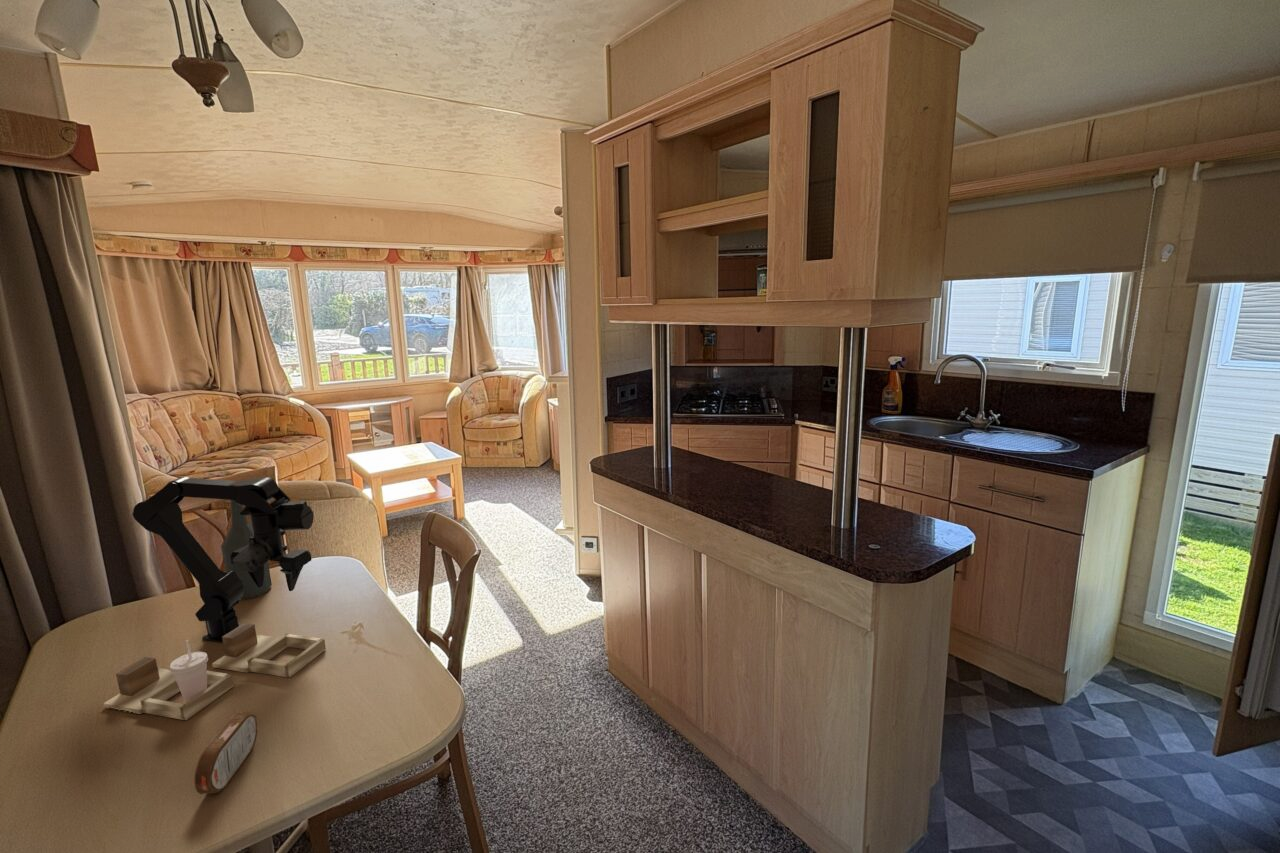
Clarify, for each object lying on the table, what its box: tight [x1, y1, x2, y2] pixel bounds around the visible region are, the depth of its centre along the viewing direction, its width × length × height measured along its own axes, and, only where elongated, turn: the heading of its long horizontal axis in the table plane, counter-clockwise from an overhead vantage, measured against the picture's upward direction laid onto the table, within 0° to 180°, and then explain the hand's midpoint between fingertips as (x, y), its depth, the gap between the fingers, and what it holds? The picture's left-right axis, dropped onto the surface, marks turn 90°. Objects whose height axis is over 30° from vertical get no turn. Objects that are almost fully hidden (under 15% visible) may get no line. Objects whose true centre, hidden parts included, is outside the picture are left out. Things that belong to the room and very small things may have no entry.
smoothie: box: [169, 639, 209, 704], centre depth 124 cm, size 6×6×14 cm
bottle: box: [220, 500, 273, 600], centre depth 169 cm, size 10×10×30 cm
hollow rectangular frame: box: [212, 622, 327, 678], centre depth 139 cm, size 20×12×6 cm, turn 77°
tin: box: [193, 712, 258, 795], centre depth 106 cm, size 15×3×8 cm, turn 5°
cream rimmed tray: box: [103, 656, 235, 721], centre depth 126 cm, size 20×12×6 cm, turn 77°
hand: (276, 588), depth 148 cm, fingers open, 9 cm apart
